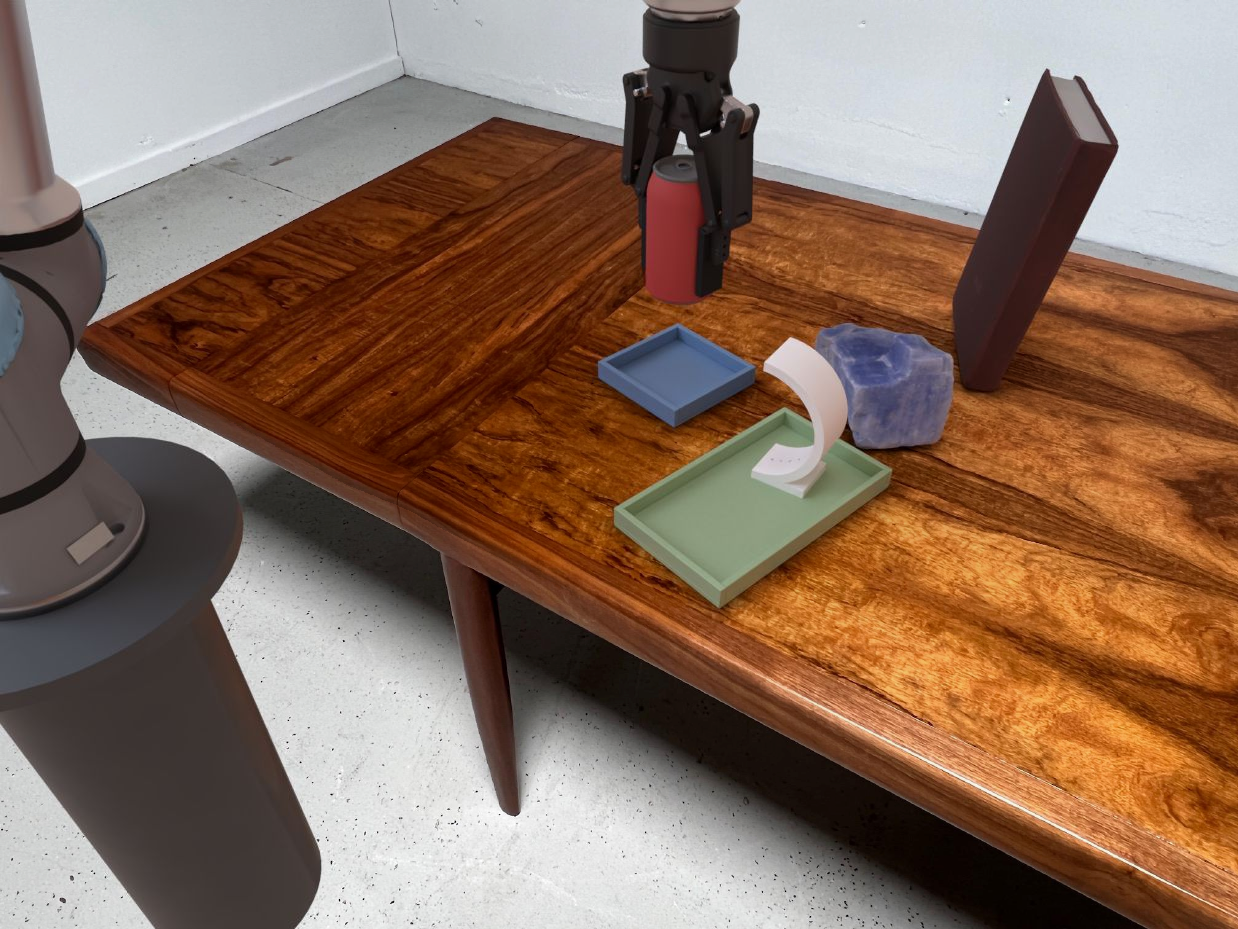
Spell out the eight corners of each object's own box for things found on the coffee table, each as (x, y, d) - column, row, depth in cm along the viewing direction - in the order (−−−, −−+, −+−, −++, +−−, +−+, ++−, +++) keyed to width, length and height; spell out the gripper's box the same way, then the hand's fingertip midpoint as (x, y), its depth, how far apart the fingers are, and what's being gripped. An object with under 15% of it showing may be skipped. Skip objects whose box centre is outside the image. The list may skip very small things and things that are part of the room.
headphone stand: (774, 450, 83) (790, 336, 75) (836, 474, 80) (859, 359, 72) (750, 477, 80) (763, 362, 72) (813, 503, 77) (834, 386, 69)
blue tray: (674, 428, 86) (674, 411, 85) (598, 377, 92) (597, 361, 91) (754, 383, 92) (756, 366, 90) (677, 338, 98) (678, 322, 97)
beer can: (705, 271, 88) (713, 149, 81) (723, 304, 83) (732, 178, 76) (639, 277, 88) (640, 154, 80) (653, 311, 83) (655, 184, 75)
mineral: (981, 354, 79) (878, 366, 76) (956, 448, 84) (859, 461, 81) (895, 293, 90) (803, 301, 88) (878, 378, 96) (791, 388, 93)
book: (1125, 149, 72) (1070, 138, 72) (999, 396, 90) (955, 387, 90) (1090, 73, 84) (1043, 65, 84) (985, 305, 102) (946, 297, 102)
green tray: (719, 609, 69) (721, 591, 67) (613, 525, 76) (613, 507, 74) (888, 486, 79) (893, 469, 78) (782, 423, 86) (784, 406, 85)
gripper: (822, 23, 66) (787, 303, 81) (642, -22, 77) (640, 230, 92) (752, 43, 62) (728, 332, 77) (573, -7, 74) (583, 253, 88)
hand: (680, 276), depth 85 cm, fingers closed on beer can, 6 cm apart
